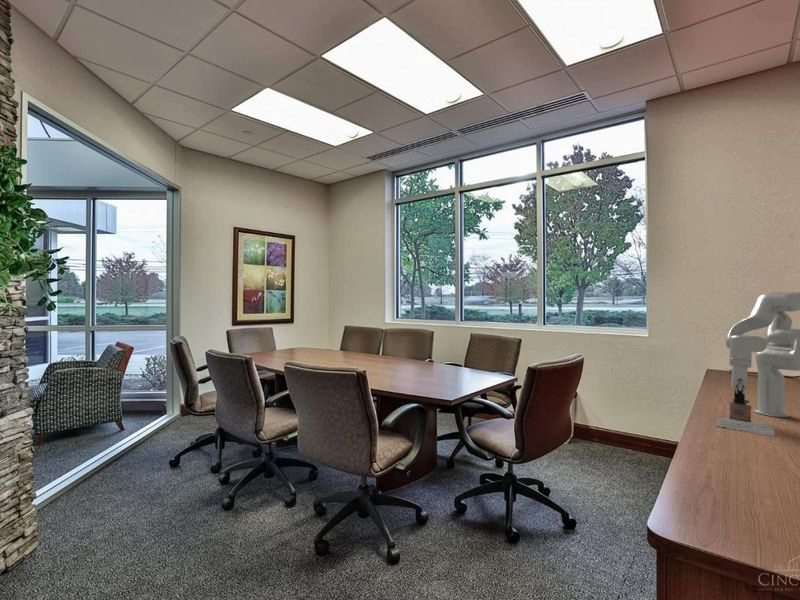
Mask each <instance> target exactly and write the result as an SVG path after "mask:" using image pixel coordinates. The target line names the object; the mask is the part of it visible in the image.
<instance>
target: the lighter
mask: <svg viewBox="0 0 800 600" xmlns="http://www.w3.org/2000/svg"><path fill="white" fill-rule="evenodd" d="M728 403H729V416H728V419H729V418H730V419H734V420H739V421H746V422H752V405H749V404H750V400H749V399H748V400H747V399H745V402H744V404H743V403H736V402H735V398H734V397H733V398H732V402H728Z"/></svg>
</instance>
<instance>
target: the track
mask: <svg viewBox="0 0 800 600" xmlns="http://www.w3.org/2000/svg"><path fill="white" fill-rule="evenodd" d="M717 426H720V427H719V428H721V427H726V428H725V429H727V428H732V429H731V430H733V429H736V430H735V431H739V430H743V431H742V432H746V431H747V433H752V432H753V434H758V435H759V434H760V435H766V436H770V437H771V436H772V437H775V436H776V435H775V433H776V432H775V429H773V425H771V424H765V423H759V422H752V421H751V422H746V421H739V420H733V419H729V418H725V417H718V416H717V417H716V427H717Z"/></svg>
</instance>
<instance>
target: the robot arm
mask: <svg viewBox="0 0 800 600" xmlns="http://www.w3.org/2000/svg"><path fill="white" fill-rule="evenodd" d="M755 300H756V301H755V302H754V304H753V308H752V309H751V312H750V313H749V316H748V317H746V318H744V319H741V320H740V321H739V322H738V321H737V323H735V324H734V325H733V326H732V327H731V328H730V330H729V332H728V334H727V336H726V338H725V346H726V347H727V349H729V362H728V363H729V364H728V365H729V366H730V367H731V366H732V368H731V388H732V389H734V392H733V393H734V397H733V398H735V402H736V403H743V404H744V402H745V400H746V398H745V396H746V394H745V390H746V389H747V385H748V371H749V370H748V369H749V368H752V356H753V355H752V353H755V361H756V367H757V368H756V369H757V407H755V408H753V410H752V411H753V412H754V413H756V414H759V415H761V416H762V415H764V416H768V417H776V418H789V417H790V414H789V413H788V412H787V411H785V410H786V409H785V407H786V406H785V405H786V404H785V403H786V402H785V401H786V398H785V397H786V395H785V394H786V393H785V392H786V389H785V388H786V377H785V376H784V375H783V373H782V372H781V371H780V370H784V371H794V372H800V328H792V324H793V319H792V317H790V315H789V314H787V312H799V311H800V291H783V292H780V291H775V292H766V293H764V294H760V295H759V296H757V299H755ZM764 328H766V330H765V333H764V337H761V336H759V335H747V334H746V333H749V332H753V331H756V330H760V329H764ZM745 334H746V335H745ZM771 347H772V348H771Z"/></svg>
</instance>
